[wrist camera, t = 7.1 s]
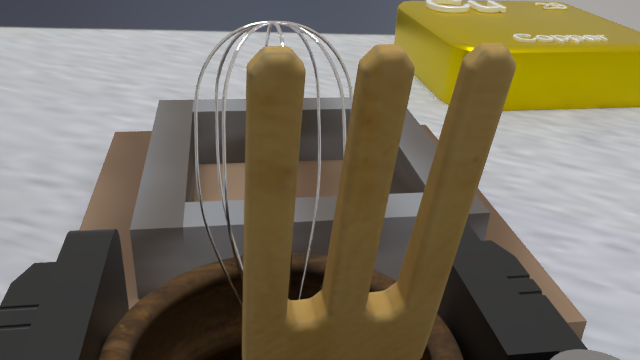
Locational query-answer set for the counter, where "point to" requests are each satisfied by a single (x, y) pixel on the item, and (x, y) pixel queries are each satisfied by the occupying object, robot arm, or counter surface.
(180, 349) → the utensil holder
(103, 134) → the counter surface
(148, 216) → the socket base
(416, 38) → the element tile
